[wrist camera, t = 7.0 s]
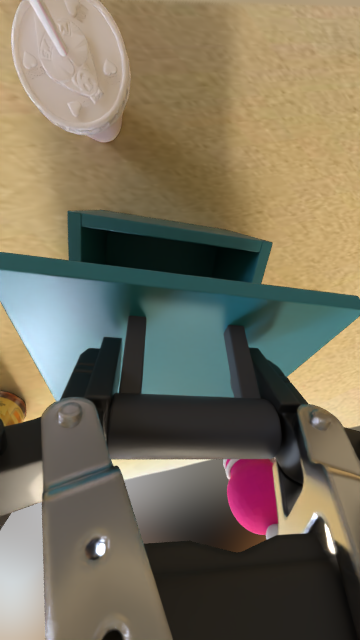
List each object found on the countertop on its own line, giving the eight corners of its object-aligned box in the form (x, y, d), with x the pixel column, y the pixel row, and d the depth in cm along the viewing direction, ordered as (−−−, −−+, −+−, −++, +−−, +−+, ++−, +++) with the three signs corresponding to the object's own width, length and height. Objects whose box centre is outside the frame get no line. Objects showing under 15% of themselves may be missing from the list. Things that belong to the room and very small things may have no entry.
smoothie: (98, 51, 21) (22, -190, 8) (151, 124, 23) (154, 26, 11) (48, 111, 22) (-86, -20, 9) (103, 175, 25) (55, 139, 12)
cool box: (101, 209, 26) (67, 210, 15) (225, 229, 28) (273, 242, 17) (97, 348, 32) (72, 417, 22) (199, 355, 34) (222, 421, 24)
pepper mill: (183, 379, 36) (219, 554, 18) (227, 353, 35) (311, 510, 17) (208, 409, 39) (260, 585, 21) (249, 386, 38) (341, 550, 20)
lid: (-10, 249, 8) (-144, 439, 5) (358, 295, 10) (454, 445, 7) (72, 416, 21) (53, 496, 18) (222, 420, 24) (232, 492, 20)
